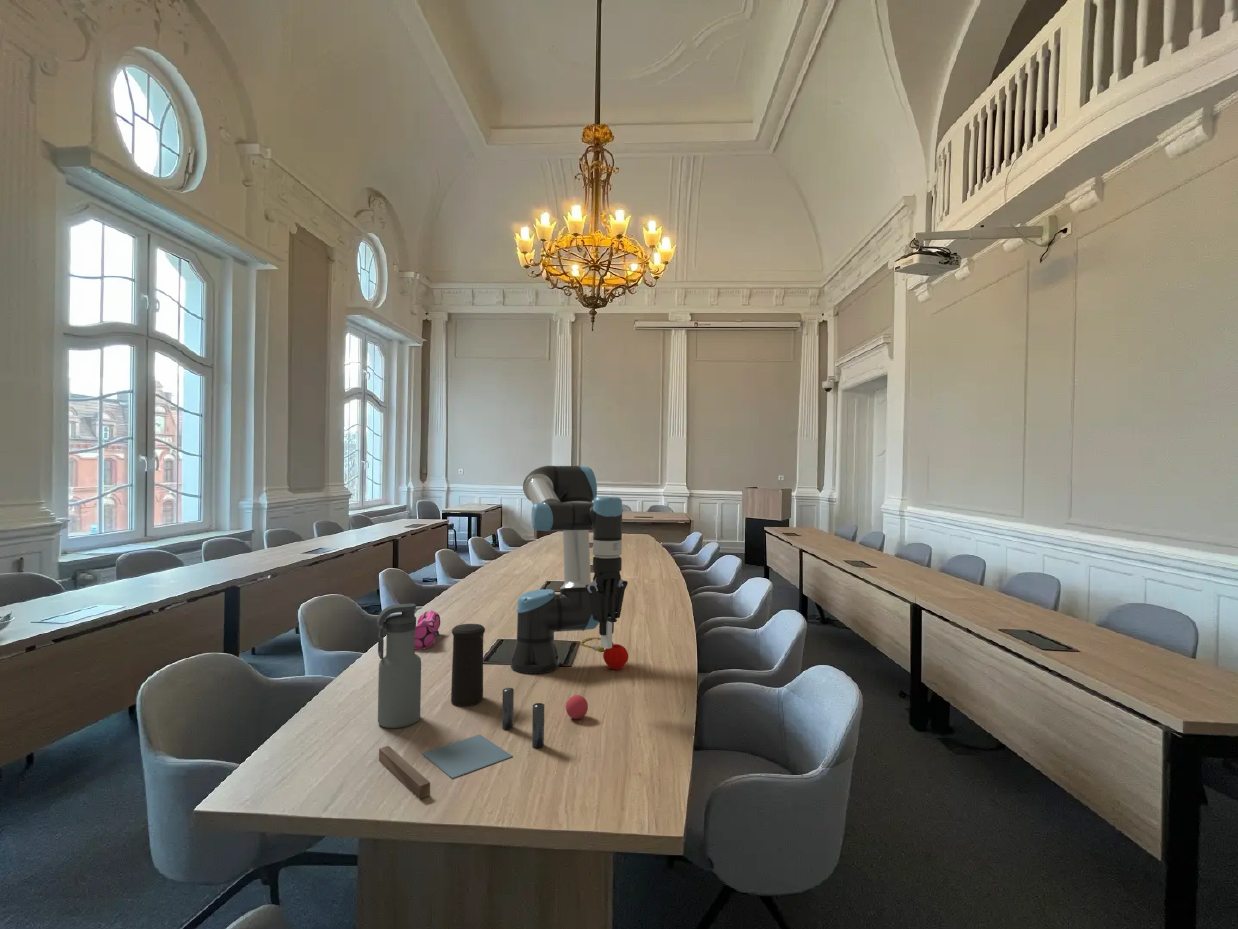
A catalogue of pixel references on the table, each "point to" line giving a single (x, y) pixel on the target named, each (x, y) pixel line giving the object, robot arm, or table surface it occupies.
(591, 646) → the yellow cable loop
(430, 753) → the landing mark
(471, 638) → the container
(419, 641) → the pencil case
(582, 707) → the ball
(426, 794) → the wall
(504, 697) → the post
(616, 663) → the apple
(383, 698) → the water bottle
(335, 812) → the table surface
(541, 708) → the post
